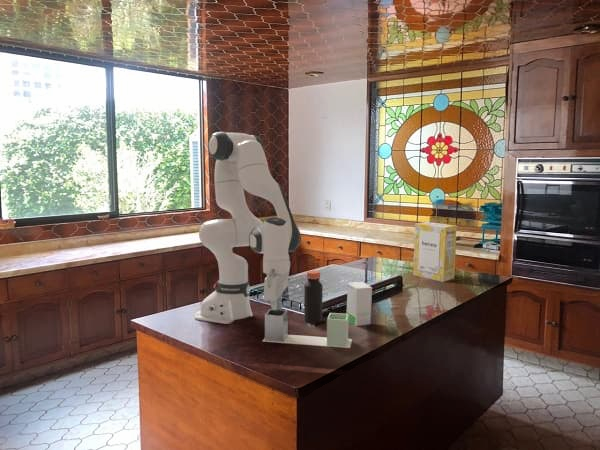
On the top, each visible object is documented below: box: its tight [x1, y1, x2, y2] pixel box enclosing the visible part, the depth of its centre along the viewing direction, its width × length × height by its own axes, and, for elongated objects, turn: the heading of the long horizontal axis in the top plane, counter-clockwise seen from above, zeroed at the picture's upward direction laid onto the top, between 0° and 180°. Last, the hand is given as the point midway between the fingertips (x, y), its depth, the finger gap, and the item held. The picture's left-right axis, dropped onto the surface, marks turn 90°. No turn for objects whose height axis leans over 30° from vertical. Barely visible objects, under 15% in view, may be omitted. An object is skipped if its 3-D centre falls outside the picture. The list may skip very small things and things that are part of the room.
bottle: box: [303, 270, 324, 324], centre depth 179 cm, size 7×7×20 cm
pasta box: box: [412, 221, 458, 283], centre depth 249 cm, size 18×10×28 cm, turn 41°
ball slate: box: [270, 299, 284, 311], centre depth 160 cm, size 4×4×4 cm
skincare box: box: [345, 281, 373, 327], centre depth 178 cm, size 8×7×16 cm
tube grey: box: [264, 308, 289, 343], centre depth 162 cm, size 6×6×9 cm
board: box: [262, 334, 353, 349], centre depth 160 cm, size 30×8×1 cm, turn 79°
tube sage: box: [326, 312, 349, 348], centre depth 158 cm, size 6×6×9 cm
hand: (276, 306), depth 161 cm, fingers closed on ball slate, 4 cm apart
